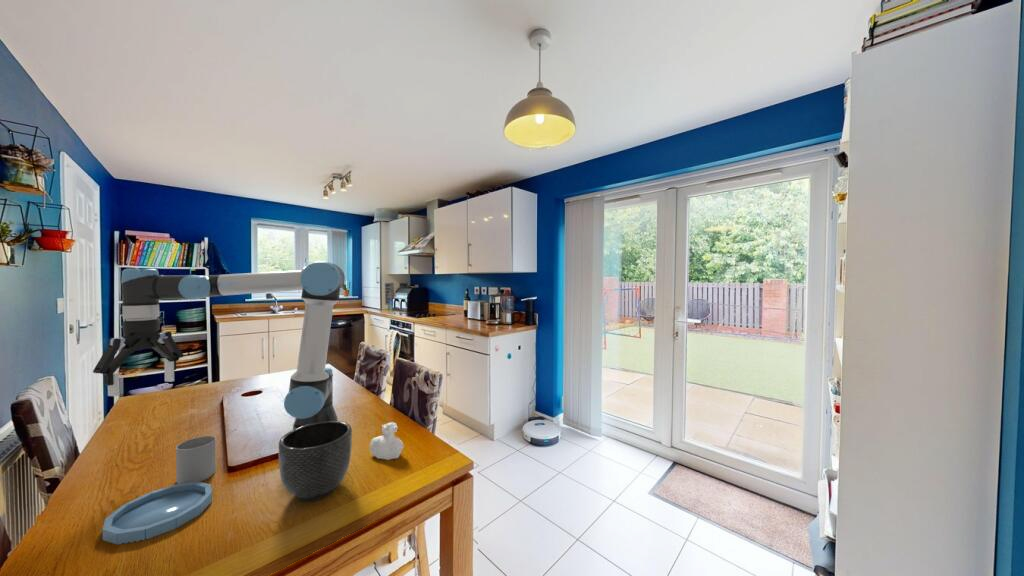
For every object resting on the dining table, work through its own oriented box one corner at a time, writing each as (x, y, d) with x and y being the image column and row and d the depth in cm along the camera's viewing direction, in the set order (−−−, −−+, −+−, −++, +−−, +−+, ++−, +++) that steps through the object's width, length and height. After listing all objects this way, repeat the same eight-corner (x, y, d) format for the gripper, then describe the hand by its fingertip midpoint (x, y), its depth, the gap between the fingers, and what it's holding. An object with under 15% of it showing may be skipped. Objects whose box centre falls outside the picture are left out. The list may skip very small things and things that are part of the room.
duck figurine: (404, 463, 108) (415, 427, 115) (393, 459, 102) (405, 421, 109) (372, 459, 111) (384, 424, 117) (360, 454, 105) (373, 418, 111)
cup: (191, 486, 92) (190, 451, 92) (168, 482, 93) (167, 448, 93) (223, 469, 100) (222, 437, 100) (201, 466, 102) (201, 434, 102)
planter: (299, 523, 78) (298, 456, 78) (266, 497, 88) (266, 438, 87) (364, 485, 93) (364, 429, 93) (330, 466, 102) (330, 415, 102)
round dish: (226, 486, 92) (226, 477, 92) (181, 533, 75) (181, 523, 75) (144, 497, 87) (144, 488, 87) (77, 551, 70) (76, 540, 70)
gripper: (178, 314, 113) (179, 375, 114) (71, 324, 89) (74, 402, 89) (196, 314, 112) (198, 376, 113) (93, 324, 88) (96, 403, 88)
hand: (143, 388), depth 101 cm, fingers open, 13 cm apart
